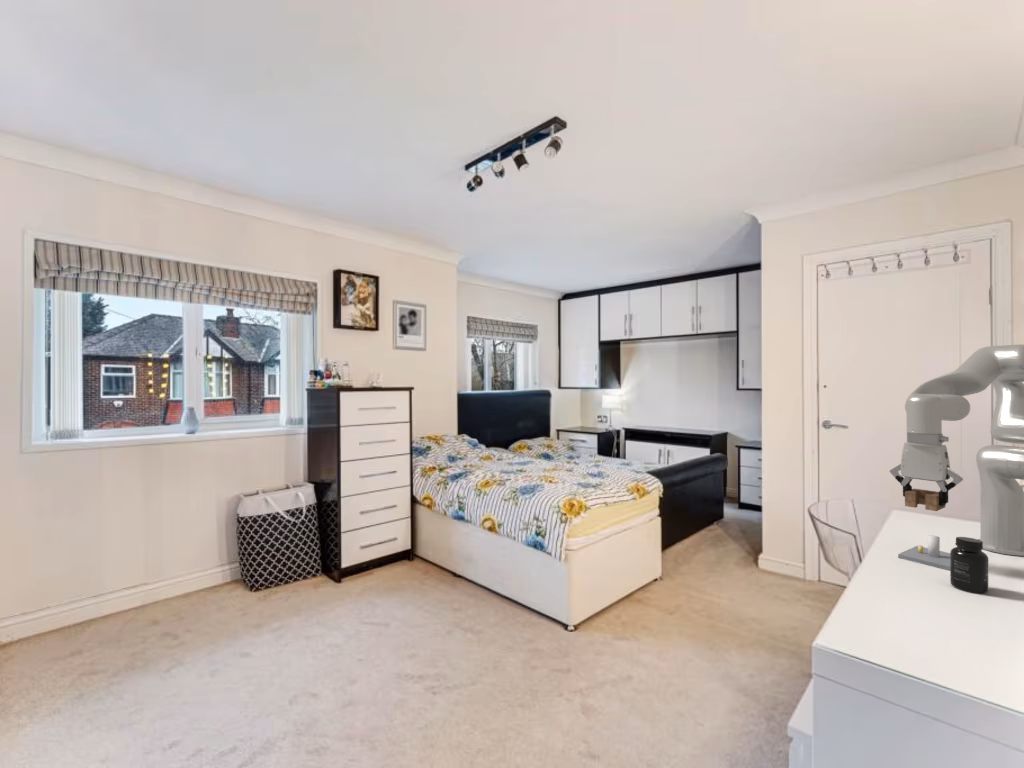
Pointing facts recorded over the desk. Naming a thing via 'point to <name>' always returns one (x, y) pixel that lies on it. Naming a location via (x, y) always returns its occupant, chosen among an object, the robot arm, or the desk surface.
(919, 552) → the post base
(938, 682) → the desk surface
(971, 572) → the supplement bottle
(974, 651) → the desk surface
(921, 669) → the desk surface
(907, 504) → the wooden arch block
